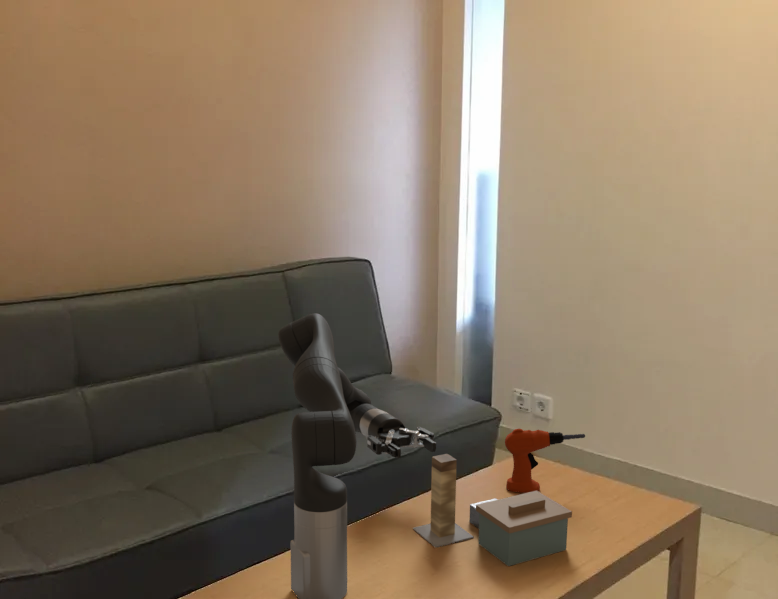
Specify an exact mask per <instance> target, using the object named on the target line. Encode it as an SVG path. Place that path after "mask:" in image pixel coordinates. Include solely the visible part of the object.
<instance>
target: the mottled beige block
mask: <svg viewBox="0 0 778 599" xmlns="http://www.w3.org/2000/svg"><path fill="white" fill-rule="evenodd" d="M457 461H458V460H457V459H456V458H455V457H453V456H452V455H450V454H448V453H444V454H439V455H434V456H432V457H431V486H430V488H431V490H430V491H431V494H430V523H431V531H432V532H433V533H434V534H436V535H437V536H438V537H439V538H440V537H444V536H448V535H453V534H455V523H456V504H457V503H456V501H457V499H456V497H457Z"/></svg>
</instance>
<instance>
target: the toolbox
mask: <svg viewBox="0 0 778 599" xmlns="http://www.w3.org/2000/svg"><path fill="white" fill-rule="evenodd" d="M476 511H477V512H479V529H478V541H477V542H478V545H479V546H480V547H482V548H483V549H485V550H486V551H488V552H489V553H490V554H491V555H493V556H494V557H495V558H497V559H499V560H500V562H502V563H503V564H505V565H506V566H508V567H511V566H514V565H517V564H518V565H519V564H521V563H525V562H528V561H531V560H532V561H533V560H535V559H538V558H542V557H545V556H549V555H552V554H556V553H559V552H564V551H567V544H568V543H567V541H568V540H567V539H568V526H569V525H568V523H569V522H568V521H569V519H570V518H572V516H573V511H572V510H570V509H568V508H567V507H565V506H564V505H562V504H561V503H558V502H557V501H555V500H553V499H551V497H549V496H547V495H545V494H543V493H541V492H540V491H533V492H528V493H521V494H516V495H512V496H509V497H504V498H500V499H498V500H495V501H490V502H486V503H482V504H478V505H476Z"/></svg>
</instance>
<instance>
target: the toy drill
mask: <svg viewBox="0 0 778 599" xmlns="http://www.w3.org/2000/svg"><path fill="white" fill-rule="evenodd" d="M585 437H586V435H585V433H578V434H577V433H576V434H563V433H562V432H553V431H552V432H550V431H549V432H548V431H545V430H541V429H536V430H531V429H527V430H526V429H525V430H524V429H522V428H515V429H513V430H512V432H510V433H509V434H507V435H506V436H505V439H504V445H505V448H506V449H507V451H509V453H510V454H512V459H513V469H512V473H511V477H509V478H507V481H506V490H508V491H509V492H512V493H521V494H524V493H528V492H533V491H538V492H540V489H541V484H540V483H539V482H538V481H536V480H534V479H532V470H533V469H535V468H536V467H537V466H538V465H539V462H538V461H537V460H536V459H535V455H534V454H533V453H534V452H537V451H538V450H539V451H540V450H543V449H545V448H548V447H551V446H553V445H557V444H562V443H563V442H564V441H565V440H572V439H573V440H575V439H585Z"/></svg>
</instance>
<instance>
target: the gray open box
mask: <svg viewBox="0 0 778 599" xmlns="http://www.w3.org/2000/svg"><path fill="white" fill-rule="evenodd" d="M495 500H499V499H497V498H491V499H488V500H483V501H478V502H475V503H470V504H469V519H468V520H469V522H468V523H469V524H471V525H472V526H475V527H476V529H478V530H479V512H477V511H476V505H478V504H482V503H486V502H490V501H495Z"/></svg>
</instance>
